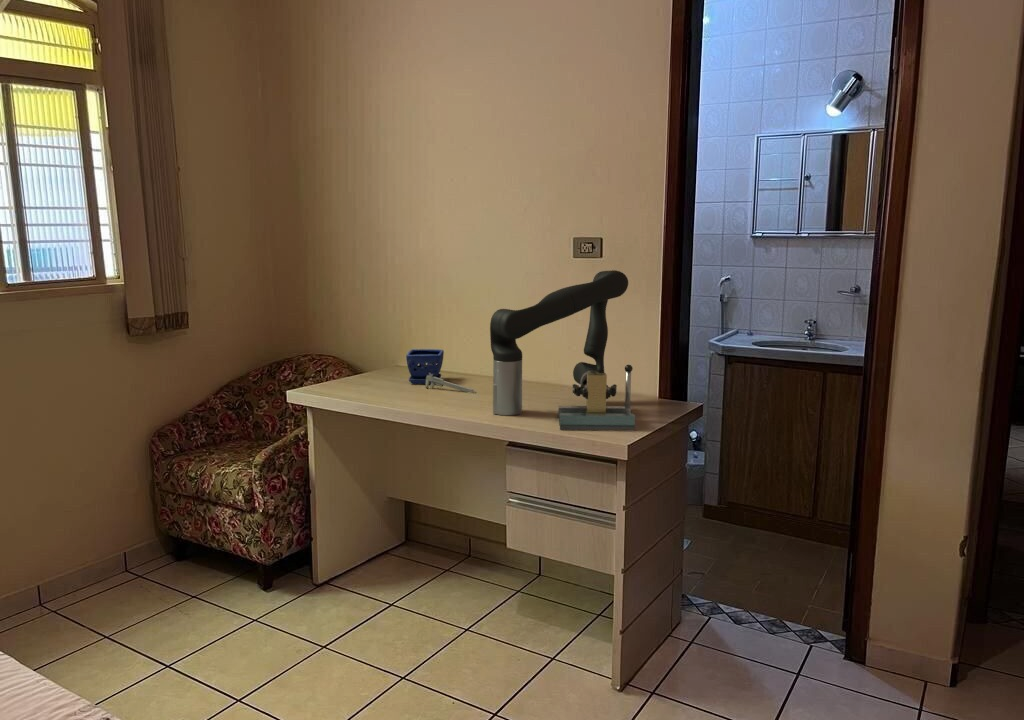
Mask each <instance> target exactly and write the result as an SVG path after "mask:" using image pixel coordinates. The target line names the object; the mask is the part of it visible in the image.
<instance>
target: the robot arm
mask: <svg viewBox="0 0 1024 720" xmlns="http://www.w3.org/2000/svg"><path fill="white" fill-rule="evenodd" d="M628 286H629V279H628V276H627V275H626V274H625V273H624V272H622V271H620V270H614V269H612V270H602V271H598V272H597V273H596V274H595V275H594V277H593V280H592V281H591V282H586V283H581V284H575V285H571V286H566V287H562V288H560V289H557V290H555V291H552V292H550V293H548V294H547V295H545V296H544V297H543V298H542V299H541V300H540V301H538V303H536V304H534V305H531V306H529V307H526V308H522V309H510V308H509V309H508V308H500V309H497V310H496V311H494V313H493V314H492V316H491V319H490V323H489V336H490V351H491V353H492V357H493V360H492V361H493V368H492V369H493V370H492V371H493V380H492V381H493V385H492V414H493V415H500V416H516V415H520V414H522V413H523V352H522V349H520V347H519V345H518V344H517V340H518V339H520V338H521V339H522V337H525V336H526V335H528V334H530V333H531V332H534V331H535V330H536V329H539V328H541V327H543V326H546V325H548V324H551V323H554V322H557V321H559V320H562V319H564V318H568V317H570V316H572V315H574V314H576V313H579V312H581V311H583V310H586V309H588V308H589V324H588V328H587V333H586V338H585V343H584V348H583V355H585V356H587V357H590V358H591V359H593V360H594V362H595V364H593V363H588V362H585V361H584V362H583V361H580V362H578V363H576V364H575V366H574V367H573V371H572V374H573V375H572V376H573V380H574V381H575V382H576V383H577V384H576V383H573V384H572V394H574V395H575V396H576V397H580V396H582V397H583V398H585V400H587V399H588V391H587V373H605V366H604V365H605V364H604V363H605V361H604V360H605V351H606V347H607V343H608V342H607V341H608V337H609V328H608V323H607V313H606V312H607V306H608V301H609V300H612V299H615V298H616V299H617V298H619V297H621V296H623V295H624V293H626V291H627V289H628V288H629V287H628ZM617 387H618V385H617V384H615V383H614V384H612V385H610V386H609V385H608V384H607V385H606V400H608V399H609V398H611V397H613V398H614V397H616V394H617Z"/></svg>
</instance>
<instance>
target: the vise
mask: <svg viewBox="0 0 1024 720" xmlns="http://www.w3.org/2000/svg"><path fill="white" fill-rule="evenodd" d="M557 419H559V420H558V426H560V427H559V431H598V430H635V431H636V426H635V425H636V415H635V413H631V414H607V413H560V417H559V415H558V414H557Z"/></svg>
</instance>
